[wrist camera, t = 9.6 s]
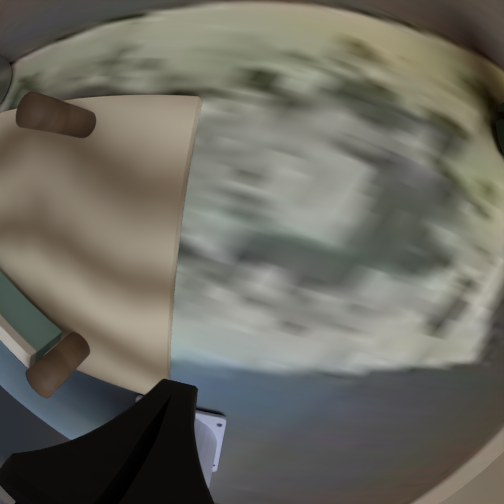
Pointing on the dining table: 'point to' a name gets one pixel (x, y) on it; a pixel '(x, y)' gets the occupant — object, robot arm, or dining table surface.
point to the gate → (24, 325)
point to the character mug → (500, 128)
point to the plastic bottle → (4, 77)
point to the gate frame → (97, 228)
